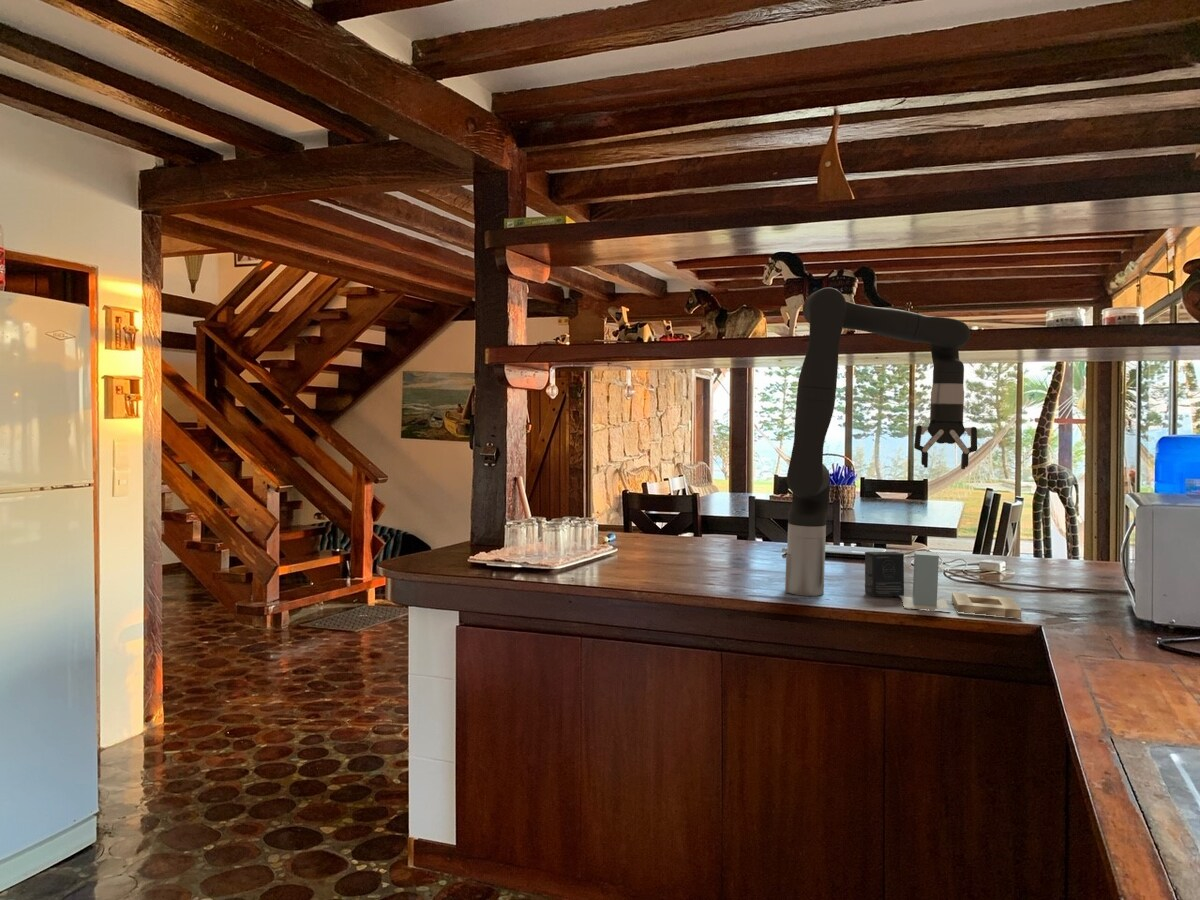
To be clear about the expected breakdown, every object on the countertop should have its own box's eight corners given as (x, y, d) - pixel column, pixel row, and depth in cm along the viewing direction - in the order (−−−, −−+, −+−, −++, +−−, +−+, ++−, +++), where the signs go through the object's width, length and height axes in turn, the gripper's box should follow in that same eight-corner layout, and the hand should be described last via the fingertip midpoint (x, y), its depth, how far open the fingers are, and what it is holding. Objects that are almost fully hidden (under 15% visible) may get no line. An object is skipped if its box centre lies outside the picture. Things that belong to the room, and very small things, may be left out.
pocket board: (957, 614, 188) (958, 604, 188) (951, 601, 200) (952, 592, 200) (1020, 619, 184) (1021, 609, 184) (1010, 606, 196) (1011, 597, 196)
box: (894, 593, 208) (894, 551, 209) (904, 596, 203) (904, 553, 203) (864, 593, 208) (864, 551, 208) (873, 596, 202) (873, 553, 202)
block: (913, 604, 194) (915, 554, 194) (912, 600, 199) (914, 550, 198) (936, 606, 193) (938, 555, 192) (934, 602, 197) (936, 552, 197)
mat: (903, 608, 192) (903, 607, 192) (901, 598, 203) (901, 596, 203) (950, 612, 189) (950, 611, 189) (945, 601, 200) (945, 600, 200)
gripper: (917, 401, 201) (914, 468, 202) (980, 402, 197) (977, 470, 198) (915, 402, 208) (912, 466, 209) (976, 403, 204) (973, 468, 205)
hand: (944, 468), depth 204 cm, fingers open, 8 cm apart
